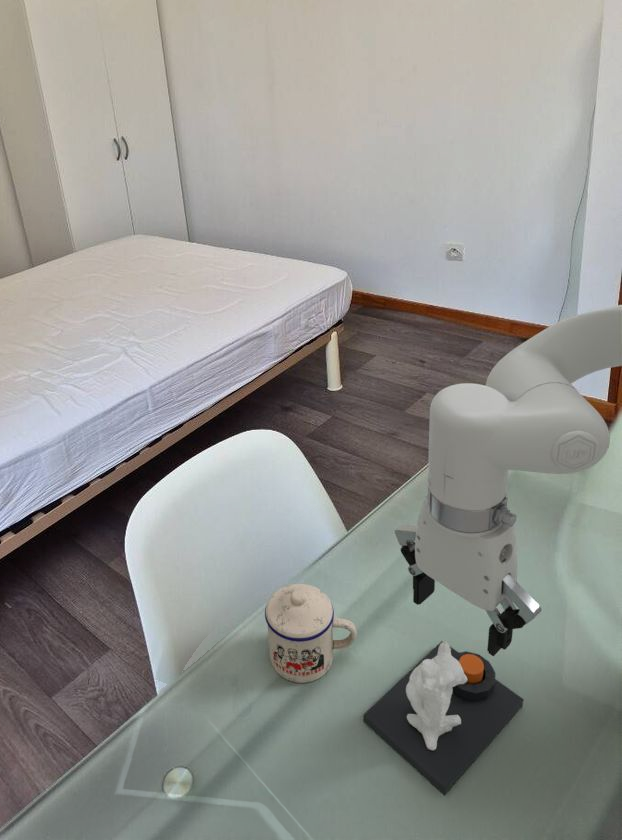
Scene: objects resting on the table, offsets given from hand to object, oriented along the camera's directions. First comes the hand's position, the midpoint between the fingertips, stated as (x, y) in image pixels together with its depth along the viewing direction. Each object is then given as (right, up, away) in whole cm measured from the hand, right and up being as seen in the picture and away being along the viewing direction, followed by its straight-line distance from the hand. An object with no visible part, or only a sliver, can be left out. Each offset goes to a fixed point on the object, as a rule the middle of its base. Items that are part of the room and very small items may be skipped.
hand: (459, 621), depth 77 cm
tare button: (+5, -11, +10) cm, 15 cm away
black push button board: (+1, -15, +8) cm, 17 cm away
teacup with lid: (-15, -12, +17) cm, 26 cm away
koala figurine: (-2, -15, +6) cm, 16 cm away
